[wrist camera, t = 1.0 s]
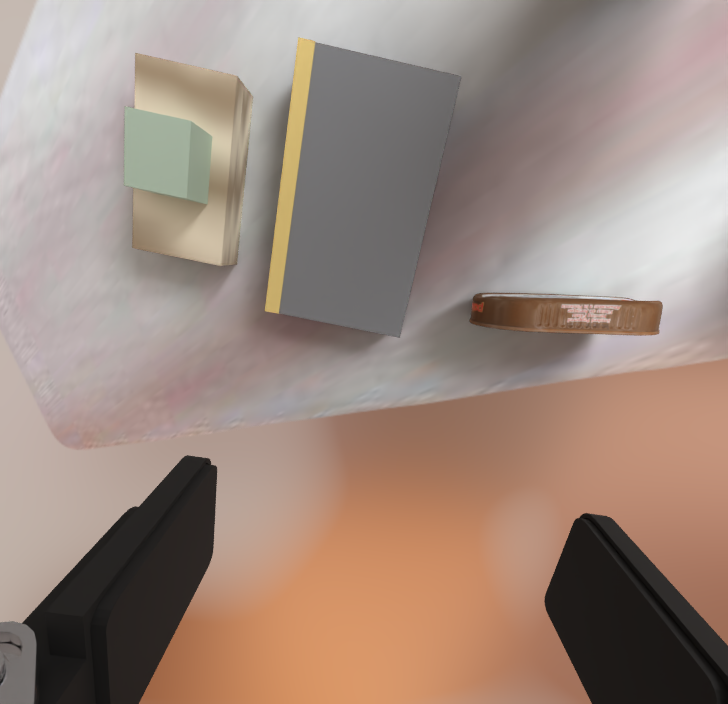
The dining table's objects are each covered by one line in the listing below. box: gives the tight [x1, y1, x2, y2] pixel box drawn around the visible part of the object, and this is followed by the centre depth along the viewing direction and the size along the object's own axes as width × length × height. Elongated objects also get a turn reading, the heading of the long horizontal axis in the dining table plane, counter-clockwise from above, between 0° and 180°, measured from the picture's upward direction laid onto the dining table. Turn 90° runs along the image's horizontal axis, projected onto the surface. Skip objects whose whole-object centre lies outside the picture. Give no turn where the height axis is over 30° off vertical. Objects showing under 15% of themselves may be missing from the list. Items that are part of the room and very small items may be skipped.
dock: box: [265, 37, 461, 338], centre depth 30 cm, size 20×12×4 cm, turn 169°
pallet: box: [132, 53, 253, 266], centre depth 30 cm, size 14×8×4 cm, turn 169°
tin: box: [469, 293, 663, 335], centre depth 30 cm, size 15×3×8 cm, turn 88°
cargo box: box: [124, 106, 212, 205], centre depth 26 cm, size 5×4×3 cm
